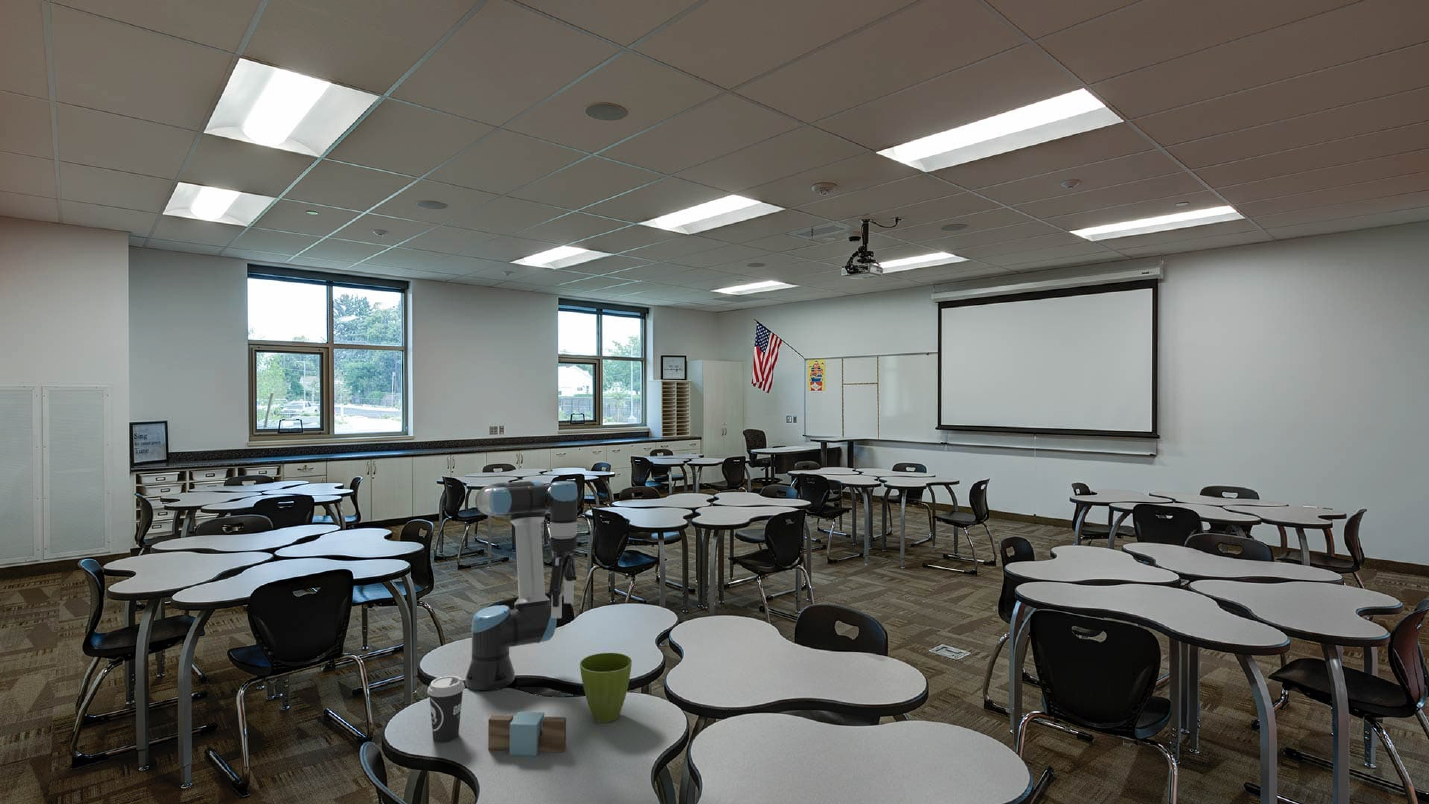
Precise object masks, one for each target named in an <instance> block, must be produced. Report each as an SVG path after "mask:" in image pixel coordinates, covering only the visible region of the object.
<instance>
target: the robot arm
mask: <svg viewBox="0 0 1429 804" xmlns="http://www.w3.org/2000/svg"><path fill="white" fill-rule="evenodd" d="M578 495H579V492H578V484H577V483H576V482H575V481H570V480H563V481H560V480H559V481H554V482H551V483H547V484H544V483H543V482H541V481H540V480H539V481H535V480H534V481H533V480H529V481H528V480H527V481H514V482H512V481H510V482H496V483H492V484H488V485H486V486H484V487H482V488H481V489H479V491H478V492H477V494H476V495H475V499H474V503H475V507H476V509H477V510H478V511H479V512H480V513H481V514H484V515H486V516H491V517H498V518H500V517H501V518H502V517H504V518H505V517H509V522H510V523H511V524H512V525H513V526H514V530H515V548H516V549H515V550H516V569H517V588H518V590H517V591H518V598H517V600H516V601H515V602H514V608H513V609H511V608H510V607H509V606H508V605H505V604H504V605H503V604H501V605H491V606H488V607H484V608H482V609H480V610H479V611H476V613H475V614H474V615H473V617H472V621H471V629H470V630H471V659H470V660H471V661H470V663H469V667H468V669H467V673H466V676H465V687H466V688H467V689H468V690H473V691H477V690H490V691H495V690H494V689H496V690H498V689H497V688H500V689H503V688H505V687H508V686H509V685H511V684H513V683H514V681H515V674H516V673H515V670H514V666H513V663H512V660H511V657H510V648H512V647H519V646H526V645H531V644H540V643H544V642H548V641H550V640H551V639H552V638H553V636H554V634H555V632H556V629H557V619H562V618H563V617H562V611H563V609H562V608H563V606H562V605H563V604H574V601H575V600H574V599H575V598H574V595H575V592H574V590H575V589H574V588H575V584H574V583H575V581H577V578H578V576H576V575H577V574H576V565H575V558H574V552H575V550H577V548H578V538H577V536H576V535H578ZM549 512H550V513H549ZM548 513H549V514H550V515H549V516H550V519H549V520H550V521H549V524H548V527H549V528H550V530H549V531H550V532H549V535H550V536H551V537H550V538H549V550H550V551H551V552H555V553H556V555H555V557H553V558H552V568H551V575H550V581H549V582H550V583H549V590H548V592H547V594H548V595H549V596H551V597H550V598H549V597H548V596H547V595H546V592H545V591H546V589H545V575H544V574H545V573H544V559H543V556H544V555H543V542H542V540H543V539H542V525H541V524H542V523H543V522H544V521H545V519H546V517H545V515H547V514H548ZM564 579H565V580H564ZM562 587H563V594H562ZM562 600H563V601H562ZM562 602H563V603H562Z"/></svg>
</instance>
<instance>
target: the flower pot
mask: <svg viewBox="0 0 1429 804" xmlns="http://www.w3.org/2000/svg"><path fill="white" fill-rule="evenodd" d="M632 664H633V660H632V658H631V657H630V656H628V655H625V654H623V653H618V652H601V653H595V654H591V655H588V656H586V657H584V658H583V659H581V661H580V662H579V668H580V677H581V681H582V686H583V690H584V694H585V698H586V702H587V704H588V708H589V710H590V712H591V716H592V718H593V720H594V721H595V722H598V723H610V722H614V721H616V720H617V719H619V717H620V714H621V712H622V708H623V706H624V704H625V700H626V696H627V691H628V688H629V683H630V678H631V677H630V676H631V671H632Z"/></svg>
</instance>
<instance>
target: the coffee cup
mask: <svg viewBox="0 0 1429 804" xmlns="http://www.w3.org/2000/svg"><path fill="white" fill-rule="evenodd" d="M464 682H465V681H463V679H462V678H461V677H460V676H457V675H446V676H445V675H444V676H441V677H437V678H434V679H433V680H432V681H431V682H430V684H429V686H428V688H427V691H426V693H427V694H428V695H429V708H430V717H431V718H430V720H431V732H432V740H433V741H434V742H436V743H448V742H451V741H454V740H456V739H457V738H458V737H459V733H460V723H461V714H462V713H461V712H462V704H463V703H462V702H463V692H464V689H466V684H465V683H464Z"/></svg>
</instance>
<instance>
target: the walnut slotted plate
mask: <svg viewBox="0 0 1429 804" xmlns="http://www.w3.org/2000/svg"><path fill="white" fill-rule="evenodd" d="M513 719H514V716H513V715H502V714H501V715H500V714H492V715H490V717H489V718H488V719H487V720H488V721H487V722H488V727H487V728H488V730H487V731H488V732H487V733H488V737H487V738H488V740H487V741H488V744H487V750H488V751H491V750H492V751H510V723H511V722H512V720H513ZM566 749H567V717H566V716H544V719H543V721H542V732H541V734H540V735H539V737H538V752H550V753H552V752H554V753H564V752H565V750H566Z"/></svg>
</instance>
